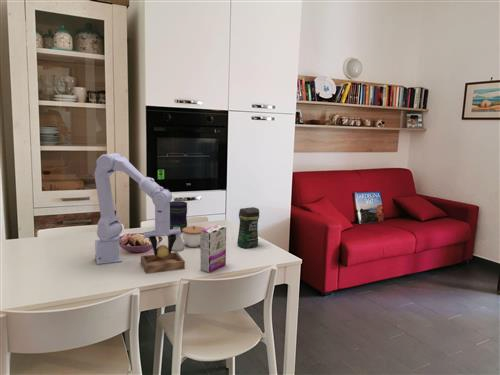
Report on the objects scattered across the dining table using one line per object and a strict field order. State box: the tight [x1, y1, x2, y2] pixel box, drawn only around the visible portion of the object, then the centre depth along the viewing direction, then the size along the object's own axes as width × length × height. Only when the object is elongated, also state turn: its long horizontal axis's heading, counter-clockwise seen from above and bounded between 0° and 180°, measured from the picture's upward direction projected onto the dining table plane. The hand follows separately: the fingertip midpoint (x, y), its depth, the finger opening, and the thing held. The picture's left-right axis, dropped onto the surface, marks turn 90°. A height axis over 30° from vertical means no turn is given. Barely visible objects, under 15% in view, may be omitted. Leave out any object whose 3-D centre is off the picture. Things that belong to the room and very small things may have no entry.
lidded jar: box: [182, 225, 206, 248], centre depth 185 cm, size 11×11×9 cm
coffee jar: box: [237, 206, 260, 249], centre depth 187 cm, size 10×8×19 cm
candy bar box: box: [200, 224, 227, 273], centre depth 158 cm, size 11×5×16 cm, turn 148°
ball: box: [157, 244, 169, 258], centre depth 158 cm, size 5×5×5 cm
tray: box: [140, 251, 186, 274], centre depth 158 cm, size 15×12×3 cm
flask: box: [171, 227, 185, 252], centre depth 179 cm, size 7×7×10 cm
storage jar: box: [169, 200, 188, 234], centre depth 208 cm, size 10×10×15 cm
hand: (162, 253), depth 158 cm, fingers closed on ball, 5 cm apart
